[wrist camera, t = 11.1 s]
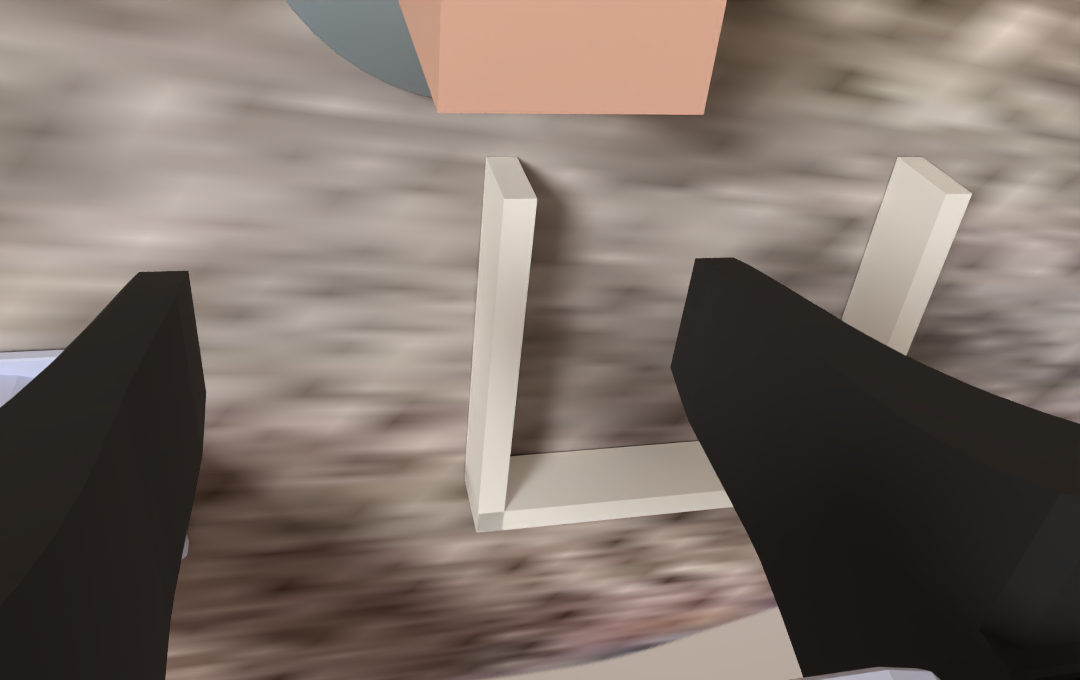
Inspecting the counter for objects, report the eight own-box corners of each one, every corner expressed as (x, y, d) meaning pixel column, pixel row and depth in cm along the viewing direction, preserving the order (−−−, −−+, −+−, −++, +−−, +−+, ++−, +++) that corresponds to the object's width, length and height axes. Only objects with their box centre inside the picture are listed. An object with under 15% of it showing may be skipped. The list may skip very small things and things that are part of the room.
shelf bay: (464, 478, 29) (476, 532, 27) (485, 156, 23) (504, 198, 21) (816, 448, 32) (849, 495, 30) (921, 157, 26) (972, 193, 24)
